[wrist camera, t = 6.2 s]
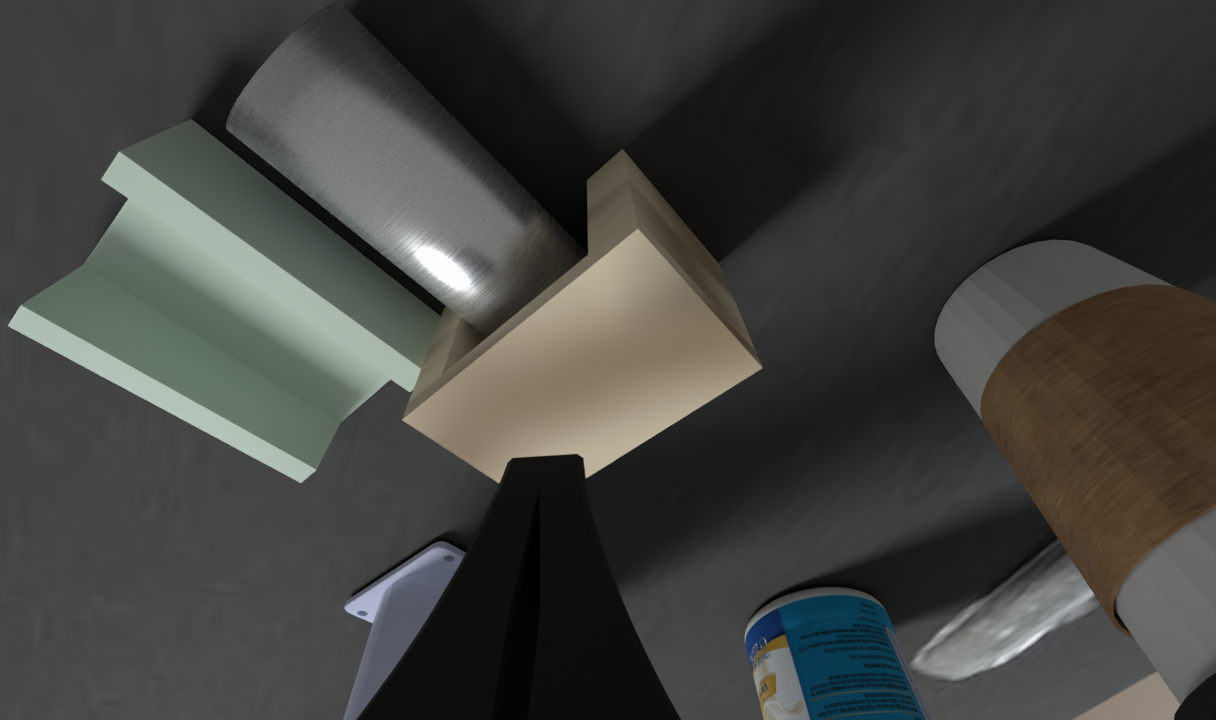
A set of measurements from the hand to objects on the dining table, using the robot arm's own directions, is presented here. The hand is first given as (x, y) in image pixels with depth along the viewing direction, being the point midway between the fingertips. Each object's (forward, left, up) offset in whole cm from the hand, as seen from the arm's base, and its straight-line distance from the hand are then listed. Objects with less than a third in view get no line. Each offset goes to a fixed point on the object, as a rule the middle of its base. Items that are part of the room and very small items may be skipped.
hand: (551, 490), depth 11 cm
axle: (+3, 0, -10) cm, 10 cm away
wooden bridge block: (-1, 0, -10) cm, 10 cm away
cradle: (+6, +8, -10) cm, 14 cm away
